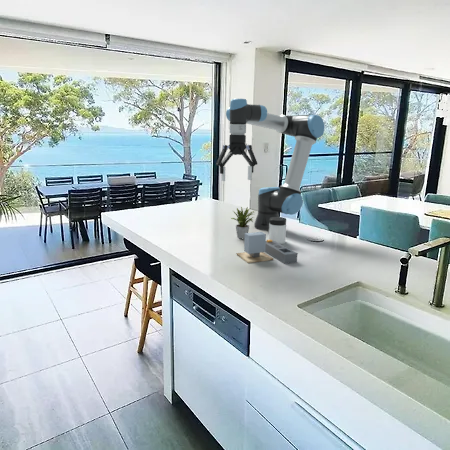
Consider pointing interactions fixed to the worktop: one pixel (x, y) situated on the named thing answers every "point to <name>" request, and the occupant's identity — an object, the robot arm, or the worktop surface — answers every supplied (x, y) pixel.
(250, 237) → the block
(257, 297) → the worktop surface
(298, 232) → the worktop surface
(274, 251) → the power strip
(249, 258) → the tan flat square block
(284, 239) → the jar
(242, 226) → the house plant
